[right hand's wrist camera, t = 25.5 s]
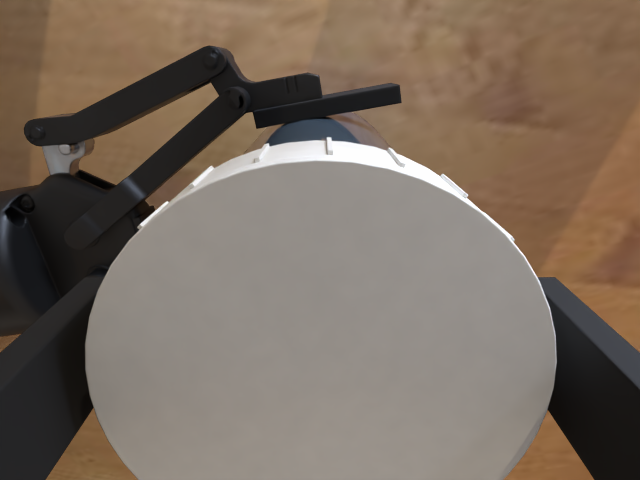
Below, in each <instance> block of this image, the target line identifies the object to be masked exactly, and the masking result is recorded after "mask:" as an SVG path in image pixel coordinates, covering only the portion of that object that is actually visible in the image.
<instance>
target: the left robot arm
mask: <svg viewBox="0 0 640 480" xmlns="http://www.w3.org/2000/svg"><path fill="white" fill-rule="evenodd" d="M209 83H212V85H213V86H214V88H215V90H216V91H217V93H218V94H219V97H218V98H217V99H215V100H214V101H213V102H212V103H211V104H210V105H209V106H208V107H206V108H205V109H204V110H203V111H202V112H201V113H200V114H198V115H197V116H196V117H195V118H194V119H193V120H192V121H191V122H189V123H188V124H187V125H186V126H185V127H184V128H183V129H181V130H180V131H179V132H178V133H177V134H176V135H175V136H174V137H172V138H171V139H170V140H169V141H168V142H167V143H166V144H164V145H163V146H162V147H161V148H160V149H159V150H158V151H157V152H155V153H154V154H153V155H152V156H151V157H150V158H149V159H147V160H146V161H145V162H144V163H143V164H142V165H141V166H140V167H138V168H137V169H136V170H135V171H134V172H133V173H132V174H130V175H129V176H128V177H127V178H125V179H124V180H123V181H121V182H120V183H119V184H118V185H114V184H112V183H110V182H107V181H105V180H103V179H101V178H98V177H96V176H94V175H92V174H89V173H87V172H85V171H83V170H79V161H80V159H81V158H82V157H84V156H86V155H89V154H90V153H91V152H92V151H93V149H94V139H93V138H95V137H98V136H101V135H105V134H108V133H110V132H113V131H115V130H117V129H119V128H121V127H123V126H125V125H127V124H129V123H131V122H133V121H135V120H137V119H139V118H141V117H143V116H145V115H147V114H149V113H151V112H153V111H155V110H157V109H159V108H161V107H163V106H165V105H167V104H169V103H171V102H173V101H175V100H177V99H179V98H181V97H183V96H185V95H187V94H189V93H191V92H193V91H195V90H197V89H199V88H201V87H203V86H205V85H207V84H209ZM398 103H401V94H400V85H397V84H393V83H388V84H382V85H377V86H371V87H366V88H360V89H355V90H350V91H344V92H339V93H333V94H328V95H322V91H321V85H320V78H319V75H316V74H311V73H304V74H298V75H293V76H288V77H282V78H277V79H271V80H266V81H261V82H254V81H250V80H248V79H247V78H246V77H244V75H243V74H242V73H241V71H240V69H239V68H238V66H237V64H236V63H235V60H234V57H233V55H232V54H231V52H230V51H228V50H227V49H224V48H220V47H215V46H206V47H203V48H201V49H199V50H197V51H195V52H193V53H191V54H189V55H188V56H186V57H184V58H182V59H180V60H178V61H176V62H174V63H172V64H170V65H168V66H166V67H164V68H162V69H161V70H159V71H157V72H155V73H153V74H151V75H149V76H147V77H145V78H143V79H141V80H139V81H137V82H135V83H133V84H132V85H130V86H128V87H126V88H124V89H122V90H120V91H118V92H116V93H114V94H112V95H110V96H108V97H106V98H105V99H103V100H101V101H99V102H97V103H95V104H93V105H91V106H89V107H87V108H85V109H83V110H81V111H79V112H77V113H71V114H61V115H55V116H50V117H44V118H39V119H33V120H30V121H28V122H27V123H26V124H25V127H24V134H25V136H26V138H27V140H28V141H29V142H30V143H32V144H34V145H36V146H42V149H43V152H44V156H45V159H46V163H47V166H48V169H49V173H50V176H48V177H47V178H46V179H45V180H44V181H43V182H42V183H41V184H39V185H35V186H29V187H24V188H18V189H12V190H7V191H1V192H0V337H1V336H9V335H15V334H22V333H23V332H24V331H25V330H27V329H28V328H29V327H30V326H31V325H32V324H33V323H34V322H35V321H37V320H38V319H39V318H40V317H41V316H42V315H43V314H44V313H46V312H47V311H48V310H49V309H50V308H51V307H52V306H53V305H55V304H56V303H57V302H58V301H59V300H60V299H61V298H62V297H64V296H65V295H66V294H67V293H68V292H69V291H70V290H71V289H72V288H74V287H75V286H76V285H77V284H78V283H79V282H80V281H81V280H83V279H84V278H85V277H105V276H106V274H107V272H108V270H109V268H110V266H111V264H112V263H113V262H114V260H115V259H116V257H117V256H118V255H119V253H120V252H121V251H122V249H123V248H124V247H125V245H126V244H127V243H128V241H129V240H130V239H131V238H132V237H133V236H134V235H135V234H136V233H137V232H138V231H139V229H138V228H137V227H138V226H139V225H140V224H141V223H142V222H143V221H144V220H145V219H147V218H148V217H149V216H150V215H151V214H152V213H153V212H155V209H154V206H149V205H148V204H147V202H146V201H145V199H147V198H148V197H149V196H150V195H151V194H152V193H154V192H155V191H156V190H157V189H158V188H159V187H161V186H162V185H163V184H164V183H165V182H166V181H167V180H168V179H170V178H171V177H172V176H173V175H174V174H175V173H177V172H178V171H179V170H180V169H181V168H182V167H184V166H185V165H186V164H187V163H188V162H189V161H191V160H192V159H193V158H194V157H195V156H196V155H198V154H199V153H200V152H201V151H202V150H203V149H205V148H206V147H207V146H208V145H209V144H210V143H212V142H213V141H214V140H215V139H216V138H217V137H219V136H220V135H221V134H222V133H223V132H224V131H226V130H227V129H228V128H229V127H230V126H231V125H233V124H234V123H235V122H236V121H237V120H238V119H240V118H241V117H242V116H243V115H244V114H245V113H248V112H253V115H254V120H255V124H256V129H258V128H264V127H269V126H275V125H280V124H286V123H292V122H297V121H302V120H308V119H314V118H320V117H325V116H331V115H336V114H342V113H347V112H353V111H359V110H364V109H370V108H375V107H381V106H387V105H392V104H398Z"/></svg>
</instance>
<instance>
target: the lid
mask: <svg viewBox="0 0 640 480" xmlns="http://www.w3.org/2000/svg"><path fill="white" fill-rule="evenodd" d="M467 196H468V194H466V193H465V192H464V191H463V190H462V189H461V188H459V187H458V186H457V185H456V184H455V183H454V182H452V181H451V180H450V179H449V178H448V177H447V176H445V175H444V174H442V175H441V176H439V175H437V174H436V173H434V172H433V171H431V170H430V169H428V168H426V167H424V166H422V165H420V164H418V163H416V162H414V161H412V160H410V159H408V158H406V157H404V156H401V155H398V154H396V152H395V151H394V150H393V149H391V148H388V150H387V151H386V150H383V149H380V148H377V147H373V146H367V145H362V144H356V143H351V142H344V141H332V140H331V137H327V139H326V141H322V140H313V141H302V142H290V143H284V144H279V145H275V146H269V143H268V144H264V146H263V147H262V148H261V149H257V150H255V151H252V152H249V153H247V154H244V155H241V156H238V157H236V158H233V159H231V160H229V161H227V162H225V163H223V164H221V165H219V166H218V167H216V168H213V166H210V167H208V168H207V169H206V170H205V171H204V172H203V173H202V174H201V175H199V176H198V177H197V178H196V179H195V180H194V181H193V182H192V183H190V184H189V185H188V186H187V187H186V188H185V189H184V190H182V191H181V192H180V193H179V194H178V195H177V196H176V197H175V198H174V199H172V200H171V201H170V202H167V201H166V202H165V203H164V204H163V205H162V206H160V207H159V208H158V209H157V210H156V211H155V212H153V213H152V214H151V215H150V216H149V217H148V218H147V219H145V220H144V221H143V222H142V223H141V224H140V225H139V226H138V227H137V228H138V229H139V231H138V232H137V233H136V234H135V235H134V236H133V237H132V238H131V239H130V240H129V241H128V243H127V244H126V245H125V247H124V248H123V249H122V251H121V252H120V253H119V255H118V256H117V257H116V259H115V260H114V262H113V263H112V264H111V266H110V268H109V270H108V272H107V274H106V276H105V278H104V280H103V281H102V283H101V285H100V287H99V289H98V292H97V295H96V298H95V301H94V304H93V307H92V310H91V313H90V316H89V322H88V329H87V335H86V342H85V370H86V376H87V382H88V388H89V394H90V398H91V401H92V404H93V407H94V410H95V413H96V416H97V419H98V421H99V423H100V425H101V427H102V429H103V431H104V433H105V435H106V437H107V439H108V441H109V443H110V444H111V446H112V447H113V449H114V450H115V451H116V453H117V454H118V456H119V457H120V459H121V460H122V462H123V463H124V464H125V465H126V466H127V467H128V469H129V470H130V471H131V472H132V473H133V474H134V475H135V476H136V478H137V479H138V480H503V479H504V478H505V477H506V476H507V475H508V474H509V473H510V472H511V470H512V469H513V468H514V467H515V465H516V464H517V463H518V462H519V461H520V459H521V458H522V457H523V456H524V454H525V453H526V451H527V449H528V448H529V446H530V444H531V443H532V441H533V440H534V438H535V436H536V435H537V433H538V430H539V428H540V426H541V424H542V421H543V419H544V417H545V415H546V412H547V409H548V406H549V402H550V398H551V395H552V391H553V388H554V380H555V371H556V363H557V359H556V336H555V330H554V325H553V321H552V316H551V311H550V307H549V304H548V302H547V299H546V297H545V294H544V291H543V289H542V286H541V284H540V281H539V280H538V278H537V276H536V274H535V273H534V271H533V269H532V268H531V266H530V264H529V262H528V261H527V259H526V257H525V256H524V255H523V253H522V252H521V251H520V250H519V249H518V247H517V246H516V245H515V244H514V242H513V241H514V238H513V237H512V236H511V235H510V234H509V233H507V232H506V231H505V230H504V229H503V228H502V227H501V226H500V225H498V224H497V223H496V222H495V221H494V220H493V219H492V218H490V217H489V216H488V215H487V214H486V213H485V212H482V211H481V210H480V209H479V208H477V207H476V206H475V205H474V204H473V203H472V202H471V201H470V200H468V199H467Z"/></svg>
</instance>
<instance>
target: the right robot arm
mask: <svg viewBox="0 0 640 480" xmlns="http://www.w3.org/2000/svg"><path fill="white" fill-rule="evenodd" d="M104 278H105V277H85V278H84V279H83V280H81V281H80V282H79V283H78V284H77V285H76V286H75V287H74V288H72V289H71V290H70V291H69V292H68V293H67V294H66V295H65V296H64V297H62V298H61V299H60V300H59V301H58V302H57V303H56V304H55V305H53V306H52V307H51V308H50V309H49V310H48V311H47V312H46V313H44V314H43V315H42V316H41V317H40V318H39V319H38V320H37V321H35V322H34V323H33V324H32V325H31V326H30V327H29V328H28V329H27V330H25V331H24V332H23V333H22V334H21V335H20V336H19V337H18V338H16V339H15V340H14V341H13V342H12V343H11V344H10V345H9V346H7V347H6V348H5V349H4V350H3V351H2V352H1V353H0V480H46V478H47V477H48V475H49V474H50V472H51V471H52V469H53V468H54V466H55V465H56V463H57V462H58V460H59V459H60V457H61V456H62V454H63V453H64V451H65V450H66V448H67V447H68V445H69V444H70V442H71V441H72V439H73V438H74V436H75V435H76V433H77V432H78V430H79V429H80V427H81V426H82V424H83V423H84V421H85V420H86V418H87V417H88V415H89V414H90V412H91V411H92V409H93V408H94V407H93V404H92V401H91V398H90V394H89V388H88V382H87V376H86V370H85V342H86V335H87V329H88V322H89V316H90V313H91V310H92V307H93V304H94V301H95V298H96V295H97V292H98V289H99V287H100V285H101V283H102V281H103V280H104ZM537 278H538V280H539V281H540V284H541V286H542V289H543V291H544V294H545V297H546V299H547V302H548V304H549V307H550V311H551V316H552V321H553V325H554V330H555V336H556V359H557V363H556V371H555V380H554V388H553V391H552V395H551V398H550V402H549V406H548V411H549V412H550V414H551V415H552V417H553V418H554V420H555V421H556V423H557V424H558V426H559V427H560V429H561V430H562V432H563V433H564V435H565V436H566V438H567V439H568V441H569V442H570V444H571V445H572V447H573V448H574V450H575V451H576V453H577V454H578V456H579V457H580V459H581V460H582V462H583V463H584V465H585V466H586V468H587V469H588V471H589V472H590V474H591V475H592V477H593V478H594V480H640V353H639V352H638V351H637V350H636V349H635V348H634V347H633V346H631V345H630V344H629V343H628V342H627V341H626V340H625V339H624V338H622V337H621V336H620V335H619V334H618V333H617V332H616V331H615V330H613V329H612V328H611V327H610V326H609V325H608V324H607V323H606V322H604V321H603V320H602V319H601V318H600V317H599V316H598V315H597V314H596V313H594V312H593V311H592V310H591V309H590V308H589V307H588V306H587V305H585V304H584V303H583V302H582V301H581V300H580V299H579V298H578V297H576V296H575V295H574V294H573V293H572V292H571V291H570V290H569V289H568V288H566V287H565V286H564V285H563V284H562V283H561V282H560V281H559V280H557V279H556V278H555V277H537Z"/></svg>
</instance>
